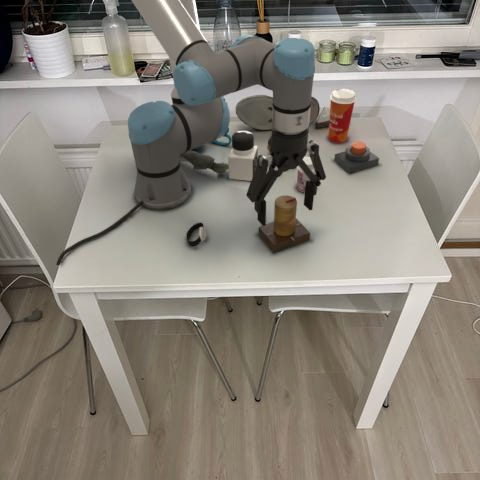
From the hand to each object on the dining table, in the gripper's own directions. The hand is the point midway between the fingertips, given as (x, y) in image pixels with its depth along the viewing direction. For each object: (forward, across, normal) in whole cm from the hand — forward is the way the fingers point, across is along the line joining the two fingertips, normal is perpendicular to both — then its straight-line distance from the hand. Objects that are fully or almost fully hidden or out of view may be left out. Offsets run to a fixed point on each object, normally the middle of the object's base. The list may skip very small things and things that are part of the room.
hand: (285, 214), depth 112 cm
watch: (+7, -19, +10) cm, 23 cm away
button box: (+7, +36, +20) cm, 42 cm away
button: (+3, +36, +20) cm, 41 cm away
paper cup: (+7, +39, +34) cm, 53 cm away
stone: (+9, +43, +44) cm, 62 cm away
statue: (+3, -17, +55) cm, 57 cm away
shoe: (+2, +26, +49) cm, 55 cm away
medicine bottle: (+7, +4, +31) cm, 32 cm away
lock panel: (+7, 0, 0) cm, 7 cm away
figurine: (+3, +15, +30) cm, 34 cm away
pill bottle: (+7, +16, +16) cm, 24 cm away
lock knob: (+4, 0, 0) cm, 4 cm away
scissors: (+3, +8, +46) cm, 47 cm away
